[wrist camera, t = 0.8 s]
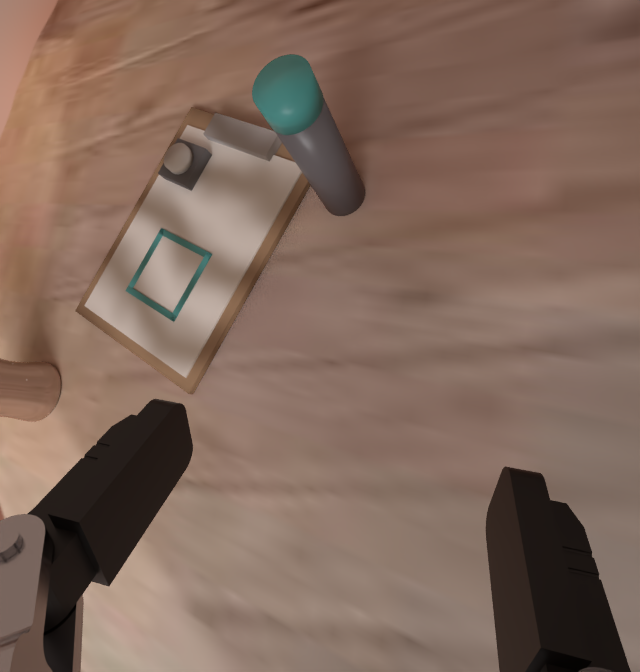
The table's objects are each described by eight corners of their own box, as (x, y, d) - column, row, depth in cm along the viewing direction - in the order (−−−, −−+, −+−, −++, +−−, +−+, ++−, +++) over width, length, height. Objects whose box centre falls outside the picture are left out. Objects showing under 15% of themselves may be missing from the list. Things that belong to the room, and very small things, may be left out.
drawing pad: (195, 111, 43) (178, 92, 41) (327, 154, 36) (317, 134, 34) (80, 312, 43) (57, 305, 40) (192, 394, 36) (172, 391, 34)
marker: (336, 171, 36) (272, 49, 24) (373, 183, 34) (323, 60, 23) (315, 208, 36) (241, 104, 24) (351, 222, 34) (290, 118, 23)
